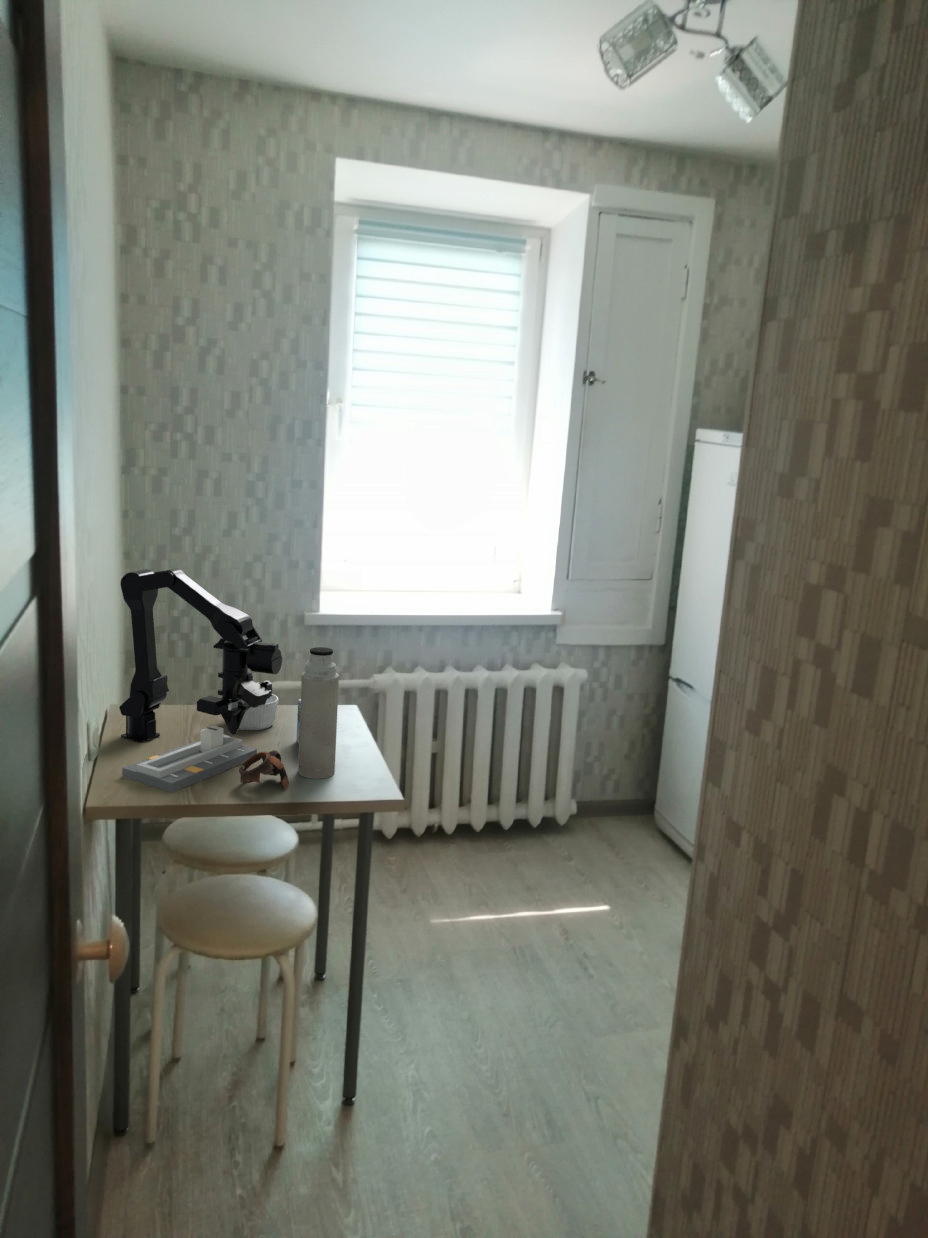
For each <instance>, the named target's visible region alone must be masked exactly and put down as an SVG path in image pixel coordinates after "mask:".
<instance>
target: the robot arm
mask: <svg viewBox="0 0 928 1238" xmlns="http://www.w3.org/2000/svg"><path fill="white" fill-rule="evenodd" d="M119 585H120V589H121V593H122V597H123V601H125V603H126V605H127V607H128V608H129V611H130V617H131V618H130V620H131V629H132V630H131V631H132V647H133V655H134V656H133V658H134V668H135V669H134V674H133V677H132V679H131V682H130V685H129V686H130V687H129V696H128V698H126V700H125V701H124V702H123V703H121V705H120V706H119V712H120V714H121V716H125V733H122V734H120V738H123V739H127V740H130V741H133V742H136V743H142V742H145V741H146V742H147V741H150V740H152V739H155V738H158V737H160V736H161V733H160V732H157V719H156V712H154V711H155V710H157V709H159V708H160V706H161V703H163V702H164V700H165V699H166V698H167V693H168V692H170V689H169V687H168V675H167V674H162V673H161V672H160V670H159V668H158V659H157V647H156V636H155V621H154V606H155V603H156V601H157V598H158V595H159V589H164V588H165V589H166V588H167V589H169V590H170V591H172V592H173V593H174V594H176V595H177V596H179V597H180V599H182V600H183V601H184V602H186V603H187V604H188V605H190V607H191V606H192V608H194V609H195V610H196V611H198V612H199V613H200V614H202V616H204V617H205V618H206V619H207V620H208V621H209V623H210V624H211V627H212V629H213V630H214V631H215V632H216V633H217V634H218V636H220V639H219V640H218V642H216V643H215V644H213V649H217V650H222V662H221V663H222V664H221V665H222V666H221V671H220V672H217V678H220V679H221V689H218V690H217V695H218V696H214V695H208V696H205V697H202V698H199V699H198V700H196V711H197V712H200V713H204V714H207V715H212V716H220V715H221V717H222V719H223V721H224V723H225V725H226V727H227V729H228V731H229V733H230V735H231V736H232V735H233V736H236V735H237V734H238V731H239V730H240V729H239V726H240V724H241V721H242V718H243V716H244V714H245V712H246V711H247V710H248V709H249V708H251V707H253V708H256V707H258V706H260V705H265V703H266V700H267V699H268V698H270V697H271V696H272V694H273V683H272V682H271V681H270V680H264V681H262V682H260V681H259V682H255V681H254V678H253V674H252V673H251V672H255V673H261V674H262V673H263V674H269V675H277V674H279V673H280V670H281V669H282V667H283V666H282V665H283V655H282V651H281V650H280V649H279V644H278V643H272V642H271V643H266V642H263V639H262V638H261V636H260V635H259V633H258V632H257V630H256V628H255V626H254V624H253V619H252V617H251V616H250V615H248V614H247V613H245V612H243V611H242V610H240V609H238V608H236V607H233V606H231V605H227V604H225V603H223V602H221V601H220V600H219V599H217V598H216V597H215V596H214V595H212V594H211V593H209V592H208V591H207V590H206V589H204V588H203V587H202V586H201V585H199V584H198V583H197V582H195V581H194V580H192V578H190V577H189V576H187V574H185V572H184V571H183V570H181V569H180V568H176V567H174V568H171V569H167V570H160V571H153V570H151V569H147V568H145V569H144V568H143V569H141V570H135V571H130V572H127V573H125V574H124V575H123V576H122V577H121V579H120V584H119ZM244 638H246V639H244ZM249 670H250V671H251V672H249ZM219 696H221V697H219ZM230 699H231V700H230Z"/></svg>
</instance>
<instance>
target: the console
mask: <svg viewBox="0 0 928 1238" xmlns="http://www.w3.org/2000/svg"><path fill="white" fill-rule="evenodd" d="M200 740H201V739H199V740H196V741H193V742H191V743H188V744H185V745H183V746H180V747H177V748H174V749H171V750H169V751H165V752H163V753H159V754H157V755H153V756H150V757H148V758H147V759H146V758H145V759H144V760H140V761H137V762H135V763H132V764H129V765H126V766H123V767H122V768H121V771H122V772H121V775H122V778H125V779H127V780H131V781H134V782H137V783H140V784H144V785H147V786H150V787H153V788H157V789H159V790H163V791H166V792H169V793H174V792H177V791H179V790H181V789H184V788H186V787H189V786H191V785H194V784H196V783H198V782H201V781H203V780H206V779H209V778H211V777H213V776H216V775H218V774H221V773H223V772H225V771H228V770H230V769H232V768H235V767H237V766H239V765H243V762H244V761H246V760H247V759H248V758H249V757H251V756H253V755H254V754H256V753H258V749H257V748H253V747H251V746H250V747H249V746H247V745H244V740H243V739H241V738H237V737H234V736H229V735H226V734H223V745H221V746H218V747H216V748H213V749H210V750H208V751H205V752H201V751H200Z"/></svg>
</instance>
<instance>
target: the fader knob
mask: <svg viewBox="0 0 928 1238" xmlns="http://www.w3.org/2000/svg"><path fill="white" fill-rule="evenodd" d="M223 735H224V727H220V726H217V725H211V726H207V727H206V728H202V729H200V739H199V740H200V751H201V752H205V751H208V750H210V749H213V748H216V747H218V746H221V745H223Z"/></svg>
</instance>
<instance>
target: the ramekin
mask: <svg viewBox="0 0 928 1238" xmlns="http://www.w3.org/2000/svg"><path fill="white" fill-rule="evenodd" d="M230 700H231V699H230ZM278 705H279V697H278V696H277V695H276V694H274V693H272V696H271V697H270V698H268V699H267V700H266V703H265V705H260V706H258V707H256V708H253V707H251V708H249V709H248V710H247V711H246V712H245V714H244V716H243V718H242V721H241V724H240V726H239V729H238V730H241V731H258V730H259V731H260V730H264V729H267V728H270V727H271V726H272V725H274V723H275V721H276V715H277V710H278Z"/></svg>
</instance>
